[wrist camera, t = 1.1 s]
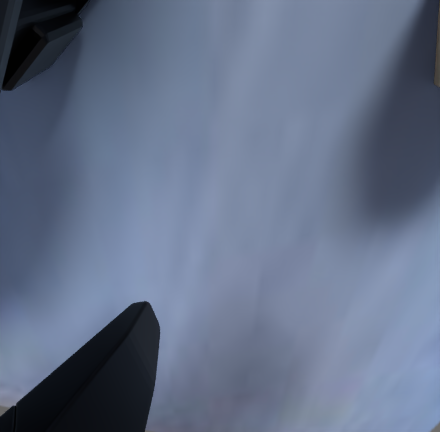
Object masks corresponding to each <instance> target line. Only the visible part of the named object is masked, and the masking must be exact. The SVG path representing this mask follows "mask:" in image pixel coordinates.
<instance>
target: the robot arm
mask: <svg viewBox="0 0 440 432" xmlns="http://www.w3.org/2000/svg"><path fill="white" fill-rule="evenodd" d="M89 1H90V0H0V92H1V89H2V90H4V91H12V90H13V89H15V88H17V87H18V86H20V85H22V84H23V83H25V82H27V81H28V80H30V79H31V78H33V77H35V76H36V75H38V74H40V73H41V72H43V71H44V70H46V69H48V68H49V67H51V66H52V65H53V63H54V62H55V61H56V60H57V58H58V57H59V56H60V55H61V53H62V52H63V51H64V50H65V48H66V47H67V46H68V45H69V43H70V42H71V41H72V40H73V38H74V37H75V36H76V35H77V33H78V32H79V31H80V30H81V28H82V27H83V24H82V19H81V18H80V17H79V16H78V15H79V14H80V13H81V12H82V10H83V9H84V8H85V7H86V5H87V4H88V3H89ZM159 340H160V326H159V323H158V320H157V318H156V316H155V313H154V311H153V309H152V307H151V305H150V303H149V302H147V301H143V302H137V303H133V304H131V305H130V306H129V307H128V308H126V309H125V310H124V311H123V312H122V313H121V314H119V315H118V316H117V317H116V318H115V319H114V320H113V321H111V322H110V323H109V324H108V325H107V326H106V327H104V328H103V329H102V330H101V331H100V332H99V333H97V334H96V335H95V336H94V337H93V338H92V339H90V340H89V341H88V342H87V343H86V344H85V345H84V346H82V347H81V348H80V349H79V350H78V351H77V352H75V353H74V354H73V355H72V356H71V357H70V358H68V359H67V360H66V361H65V362H64V363H63V364H61V365H60V366H59V367H58V368H57V369H56V370H54V371H53V372H52V373H51V374H50V375H49V376H48V377H46V378H45V379H44V380H43V381H42V382H41V383H39V384H38V385H37V386H36V387H35V388H34V389H32V390H31V391H30V392H29V393H28V394H27V395H25V396H24V397H23V398H22V399H21V400H20V401H19V402H17V404H16V406H12V407H11V408H10V409H9V410H7V411H6V412H5V413H4V414H3V415H2V416H0V432H145V428H146V424H147V419H148V415H149V410H150V406H151V401H152V397H153V392H154V387H155V380H156V371H157V360H158V350H159Z"/></svg>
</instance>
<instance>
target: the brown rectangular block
mask: <svg viewBox="0 0 440 432" xmlns="http://www.w3.org/2000/svg"><path fill="white" fill-rule="evenodd" d="M434 84H435V85H436V86H438V87H439V88H440V0H439V14H438V30H437V45H436V60H435V75H434Z"/></svg>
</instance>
